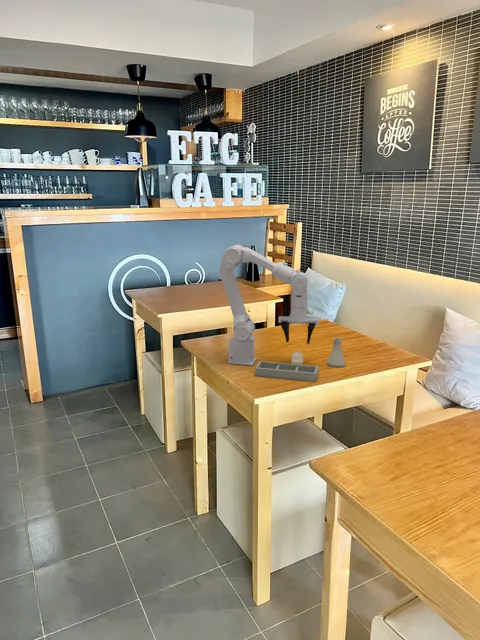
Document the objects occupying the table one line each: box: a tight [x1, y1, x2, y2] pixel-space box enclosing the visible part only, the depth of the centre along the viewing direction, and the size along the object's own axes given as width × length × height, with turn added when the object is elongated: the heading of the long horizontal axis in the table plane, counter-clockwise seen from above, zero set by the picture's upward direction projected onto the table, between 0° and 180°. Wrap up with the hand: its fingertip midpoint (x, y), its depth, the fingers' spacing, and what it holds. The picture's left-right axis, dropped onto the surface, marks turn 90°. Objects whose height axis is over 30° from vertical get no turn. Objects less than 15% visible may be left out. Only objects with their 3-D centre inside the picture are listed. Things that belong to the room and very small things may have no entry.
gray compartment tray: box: [254, 360, 319, 383], centre depth 173 cm, size 21×8×3 cm, turn 75°
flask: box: [326, 337, 347, 368], centre depth 183 cm, size 7×7×10 cm
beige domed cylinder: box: [290, 351, 304, 365], centre depth 183 cm, size 4×4×5 cm
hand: (297, 342), depth 181 cm, fingers open, 7 cm apart
